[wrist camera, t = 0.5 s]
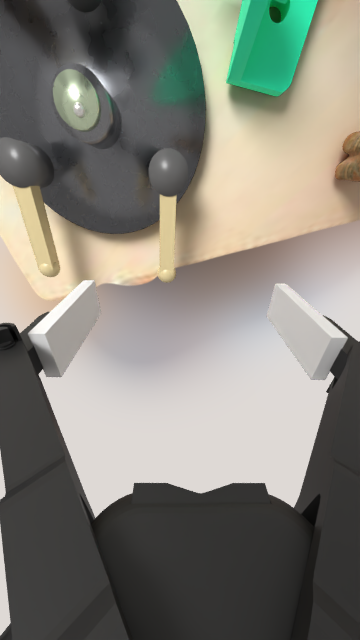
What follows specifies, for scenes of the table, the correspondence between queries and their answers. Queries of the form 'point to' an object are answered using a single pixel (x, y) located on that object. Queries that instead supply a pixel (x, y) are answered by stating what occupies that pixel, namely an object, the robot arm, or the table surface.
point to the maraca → (85, 5)
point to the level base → (129, 75)
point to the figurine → (350, 159)
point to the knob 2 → (167, 203)
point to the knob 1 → (31, 196)
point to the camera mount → (269, 44)
